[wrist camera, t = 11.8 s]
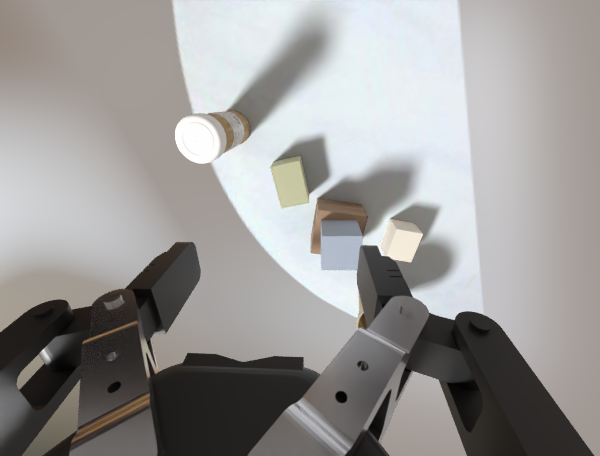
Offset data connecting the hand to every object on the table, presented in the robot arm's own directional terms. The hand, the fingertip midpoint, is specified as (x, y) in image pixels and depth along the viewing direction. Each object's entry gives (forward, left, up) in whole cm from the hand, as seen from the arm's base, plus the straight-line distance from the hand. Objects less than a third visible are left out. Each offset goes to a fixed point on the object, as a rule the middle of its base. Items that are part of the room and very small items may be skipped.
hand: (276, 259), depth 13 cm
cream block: (+12, +16, -29) cm, 35 cm away
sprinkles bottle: (-4, -9, -29) cm, 30 cm away
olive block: (+3, -1, -29) cm, 29 cm away
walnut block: (+10, +6, -29) cm, 31 cm away
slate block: (+10, +6, -24) cm, 26 cm away
